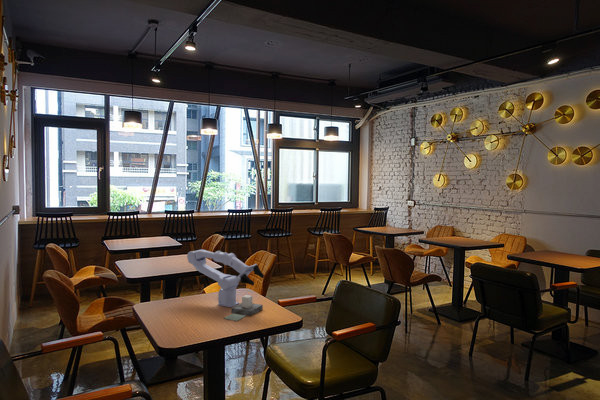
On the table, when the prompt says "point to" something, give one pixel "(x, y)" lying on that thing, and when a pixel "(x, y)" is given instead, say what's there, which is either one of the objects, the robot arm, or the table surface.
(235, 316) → the mat
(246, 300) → the block
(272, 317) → the table surface
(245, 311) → the pocket board
